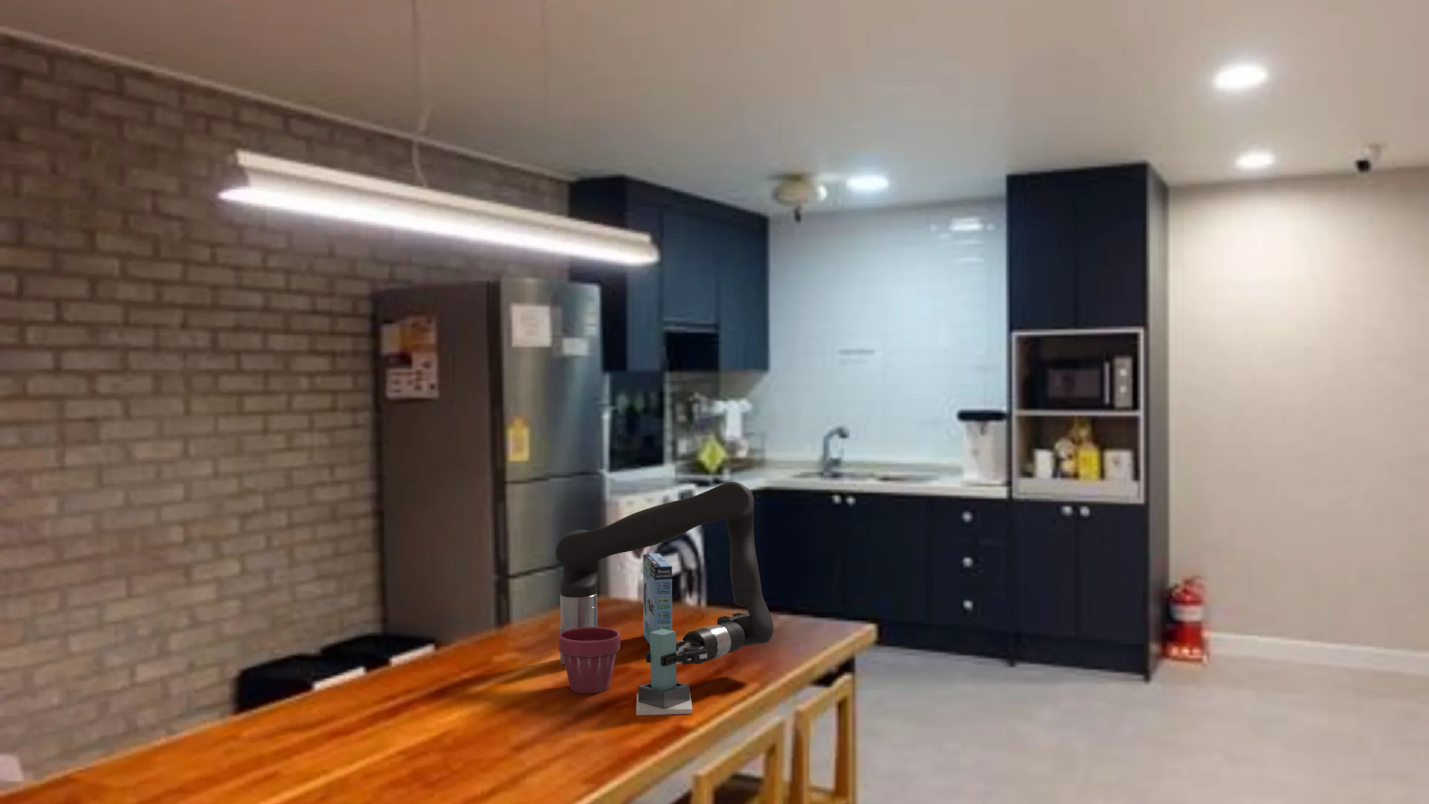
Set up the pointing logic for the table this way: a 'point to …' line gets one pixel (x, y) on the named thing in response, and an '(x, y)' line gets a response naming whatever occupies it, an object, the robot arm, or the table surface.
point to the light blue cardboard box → (656, 594)
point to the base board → (677, 709)
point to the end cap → (727, 619)
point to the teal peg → (660, 646)
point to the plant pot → (589, 657)
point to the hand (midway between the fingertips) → (654, 659)
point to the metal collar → (663, 695)
